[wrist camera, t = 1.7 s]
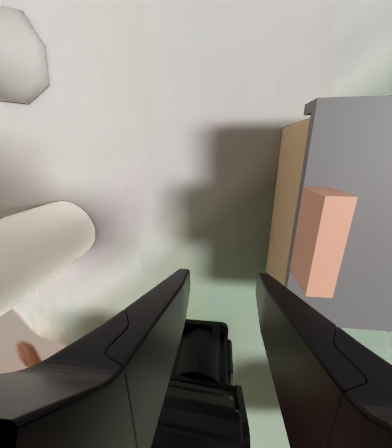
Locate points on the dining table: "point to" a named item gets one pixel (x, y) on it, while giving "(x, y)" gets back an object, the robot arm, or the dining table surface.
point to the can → (40, 247)
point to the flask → (21, 58)
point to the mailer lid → (345, 213)
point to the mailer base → (286, 197)
